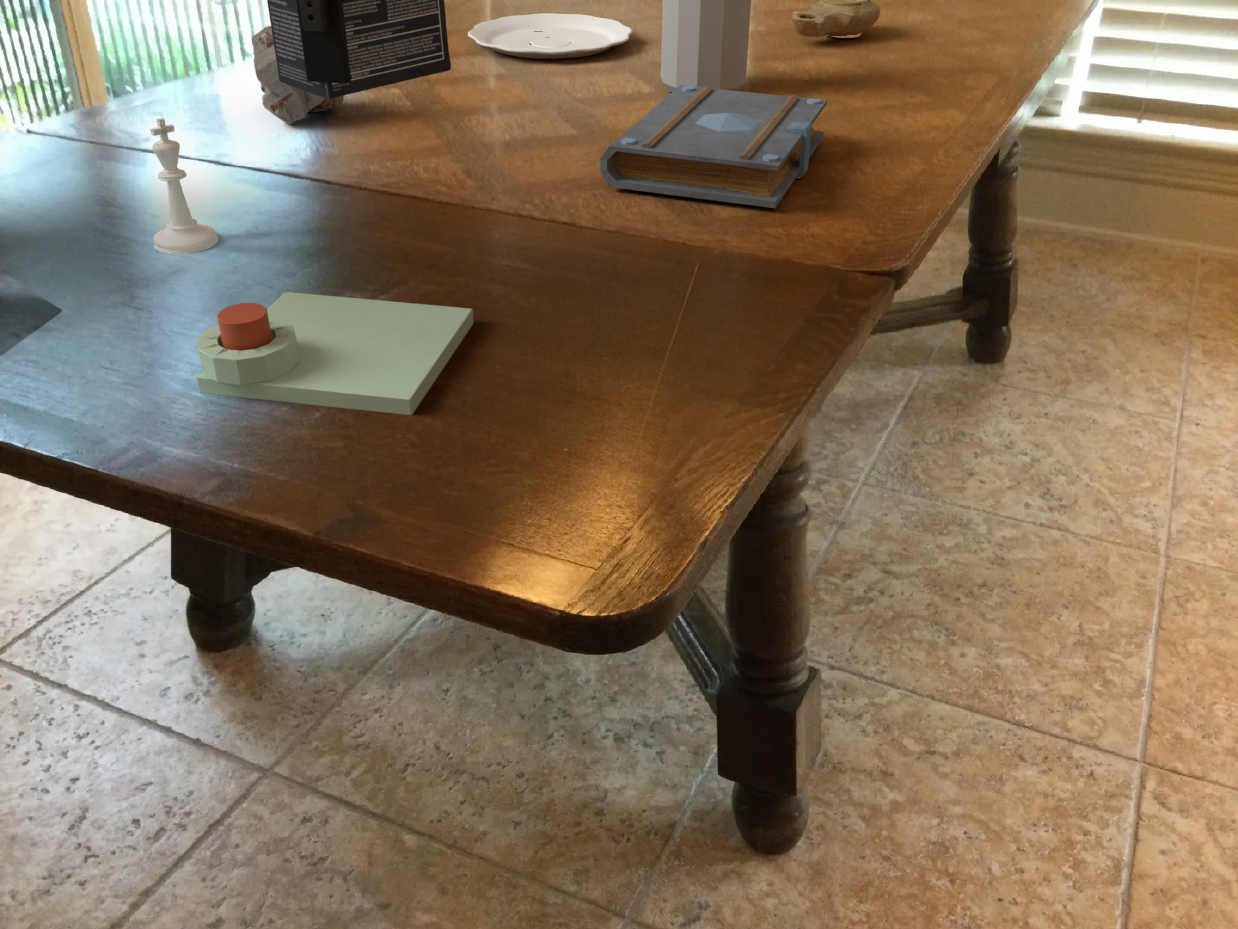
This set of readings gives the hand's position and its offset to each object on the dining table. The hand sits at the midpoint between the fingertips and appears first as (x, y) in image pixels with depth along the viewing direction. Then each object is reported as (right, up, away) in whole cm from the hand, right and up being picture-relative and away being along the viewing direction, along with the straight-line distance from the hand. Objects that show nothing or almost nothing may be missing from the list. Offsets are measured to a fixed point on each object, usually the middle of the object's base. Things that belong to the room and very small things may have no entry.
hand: (363, 57), depth 80 cm
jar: (+27, +15, +53) cm, 61 cm away
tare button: (-6, -20, -7) cm, 22 cm away
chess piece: (-17, -10, +14) cm, 24 cm away
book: (+27, 0, +31) cm, 41 cm away
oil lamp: (+46, +28, +74) cm, 91 cm away
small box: (0, -1, +1) cm, 2 cm away
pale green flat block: (-1, -21, -3) cm, 21 cm away
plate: (+9, +26, +70) cm, 75 cm away
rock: (-16, +9, +43) cm, 47 cm away
